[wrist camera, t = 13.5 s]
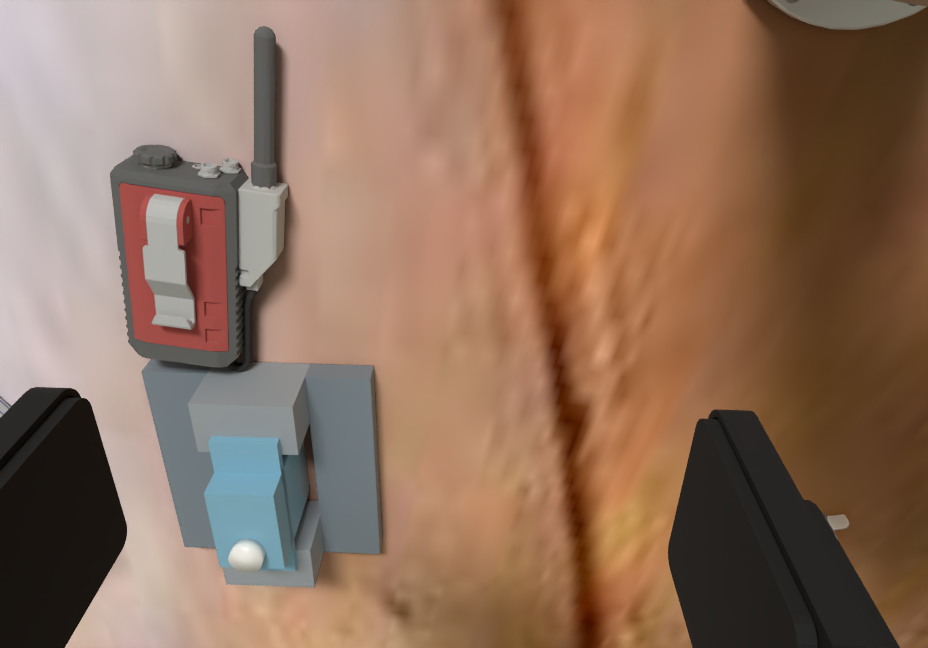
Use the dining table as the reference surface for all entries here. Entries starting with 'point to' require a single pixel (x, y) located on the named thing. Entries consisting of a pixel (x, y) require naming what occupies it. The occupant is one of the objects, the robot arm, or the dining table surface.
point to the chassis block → (286, 417)
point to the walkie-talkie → (200, 239)
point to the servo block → (255, 502)
